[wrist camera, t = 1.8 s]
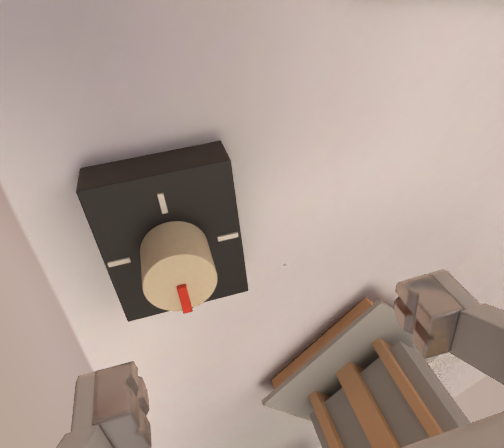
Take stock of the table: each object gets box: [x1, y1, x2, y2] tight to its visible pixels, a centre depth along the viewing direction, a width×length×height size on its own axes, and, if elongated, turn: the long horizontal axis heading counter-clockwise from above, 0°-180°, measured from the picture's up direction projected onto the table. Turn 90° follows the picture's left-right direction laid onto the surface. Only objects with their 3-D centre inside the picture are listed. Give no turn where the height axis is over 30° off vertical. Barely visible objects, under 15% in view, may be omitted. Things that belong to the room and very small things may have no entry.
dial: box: [140, 221, 217, 313], centre depth 26 cm, size 4×4×4 cm
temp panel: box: [76, 141, 248, 321], centre depth 28 cm, size 11×9×3 cm
